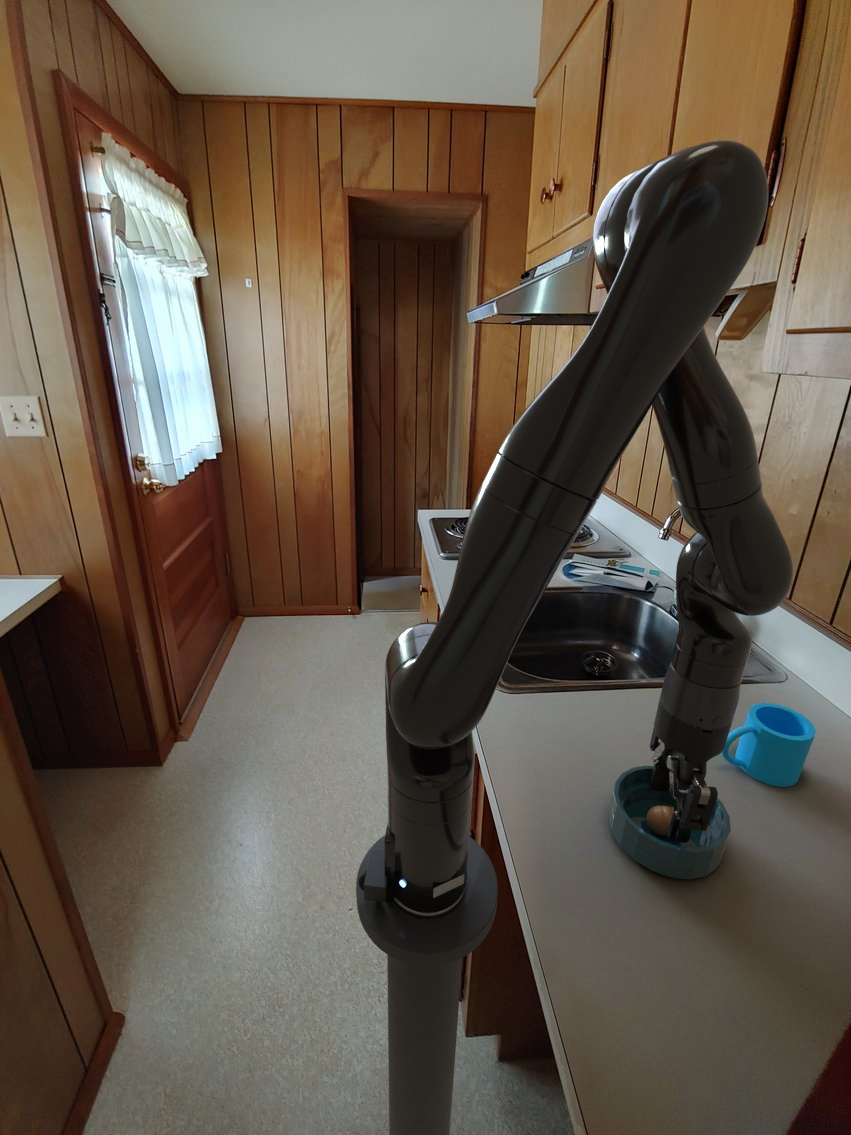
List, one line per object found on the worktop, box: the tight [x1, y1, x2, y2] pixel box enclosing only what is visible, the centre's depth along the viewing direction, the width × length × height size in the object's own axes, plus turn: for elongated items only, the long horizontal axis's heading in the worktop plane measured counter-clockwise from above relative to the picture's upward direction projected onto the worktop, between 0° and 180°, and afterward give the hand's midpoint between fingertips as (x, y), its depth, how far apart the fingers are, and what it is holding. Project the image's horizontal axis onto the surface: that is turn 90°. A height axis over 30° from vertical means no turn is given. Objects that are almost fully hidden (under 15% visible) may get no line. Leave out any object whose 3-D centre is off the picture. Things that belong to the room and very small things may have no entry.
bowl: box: [607, 765, 732, 880], centre depth 68 cm, size 13×13×5 cm
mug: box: [720, 702, 817, 788], centre depth 79 cm, size 12×8×8 cm
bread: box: [647, 806, 674, 836], centre depth 68 cm, size 5×3×3 cm
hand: (667, 813), depth 68 cm, fingers open, 7 cm apart
